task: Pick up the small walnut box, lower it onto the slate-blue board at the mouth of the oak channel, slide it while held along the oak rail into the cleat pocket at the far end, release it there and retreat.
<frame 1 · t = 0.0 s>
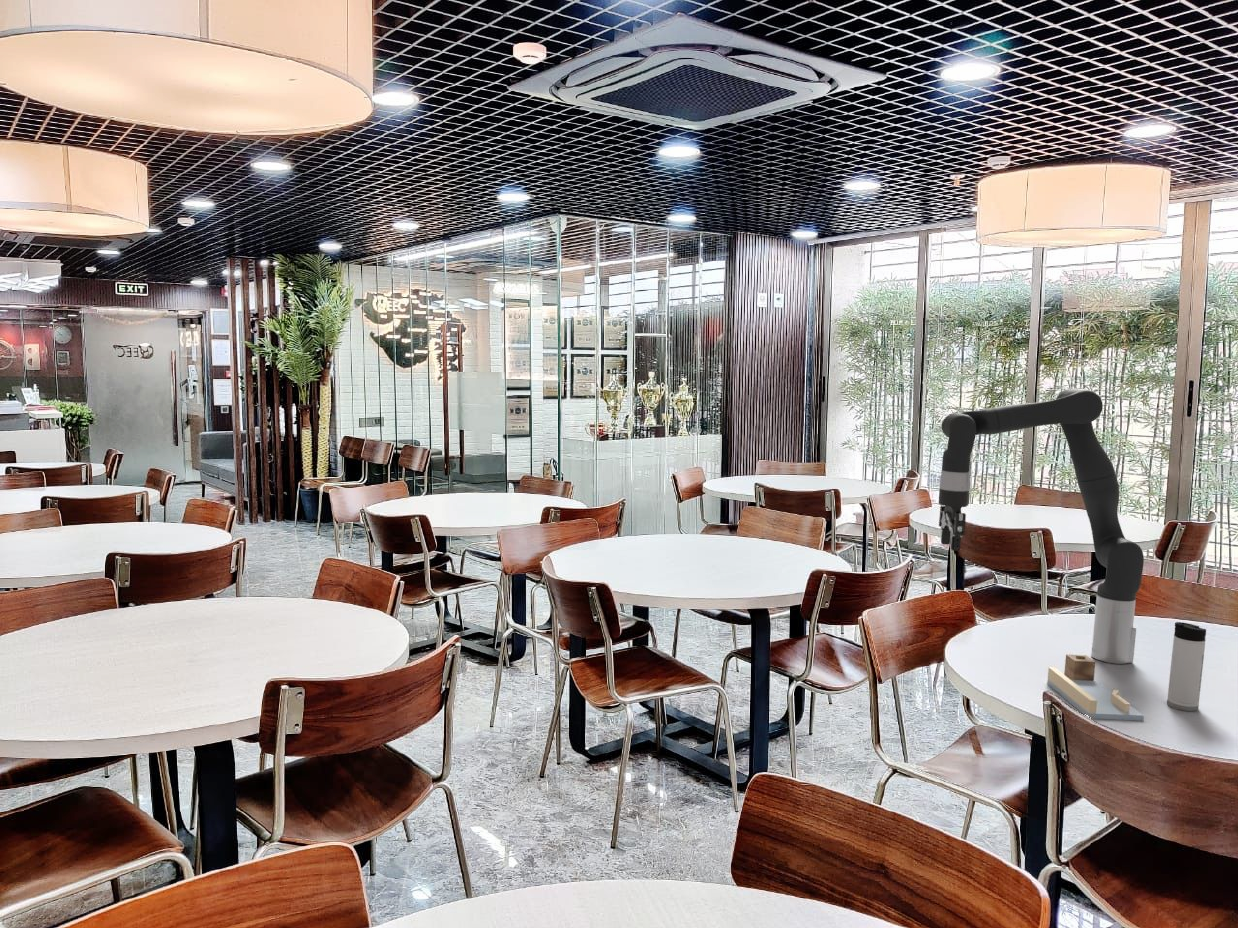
hand: (950, 547, 244), 29 cm above the table, tool pointing down, fingers open, 8 cm apart
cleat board: (1092, 700, 213), on the table
travel mug: (1181, 707, 212), on the table
walnut box: (1078, 681, 227), on the table
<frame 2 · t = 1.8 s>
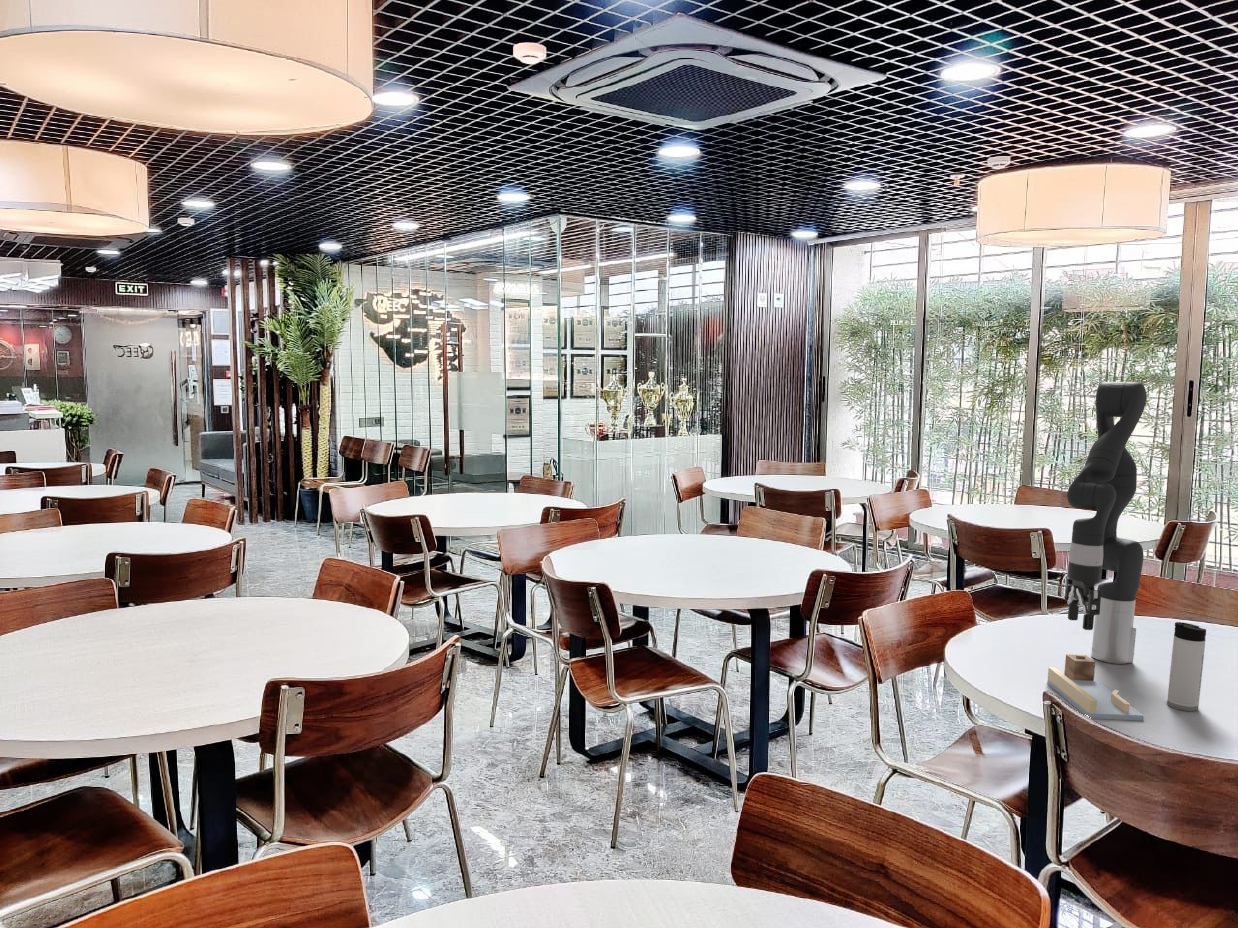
hand: (1079, 624, 226), 14 cm above the table, tool pointing down, fingers open, 8 cm apart
nothing on the table moved.
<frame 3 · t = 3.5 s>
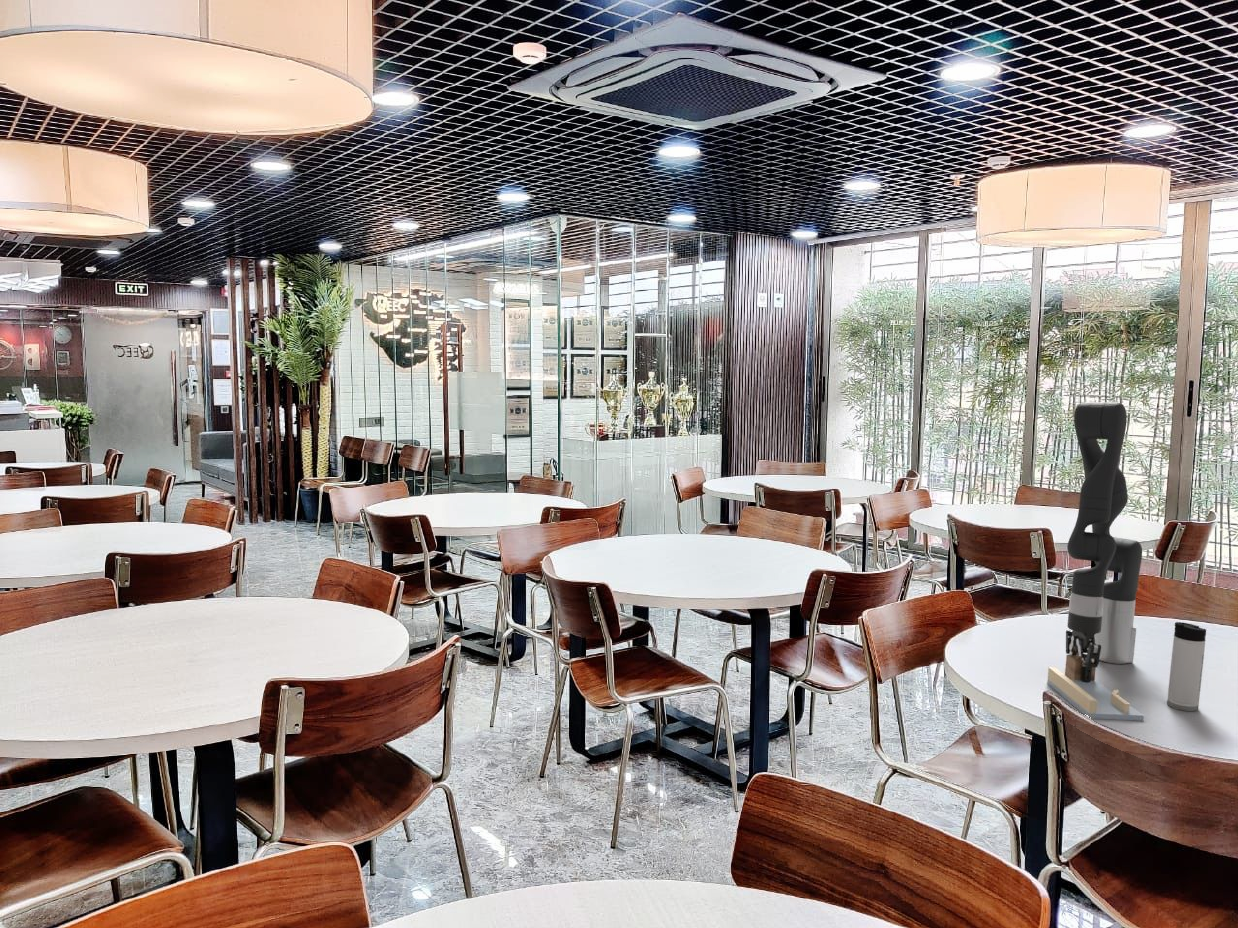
hand: (1079, 677, 226), 1 cm above the table, tool pointing down, fingers open, 5 cm apart
walnut box: (1079, 681, 227), on the table, touching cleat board, gripper
everything else where it was.
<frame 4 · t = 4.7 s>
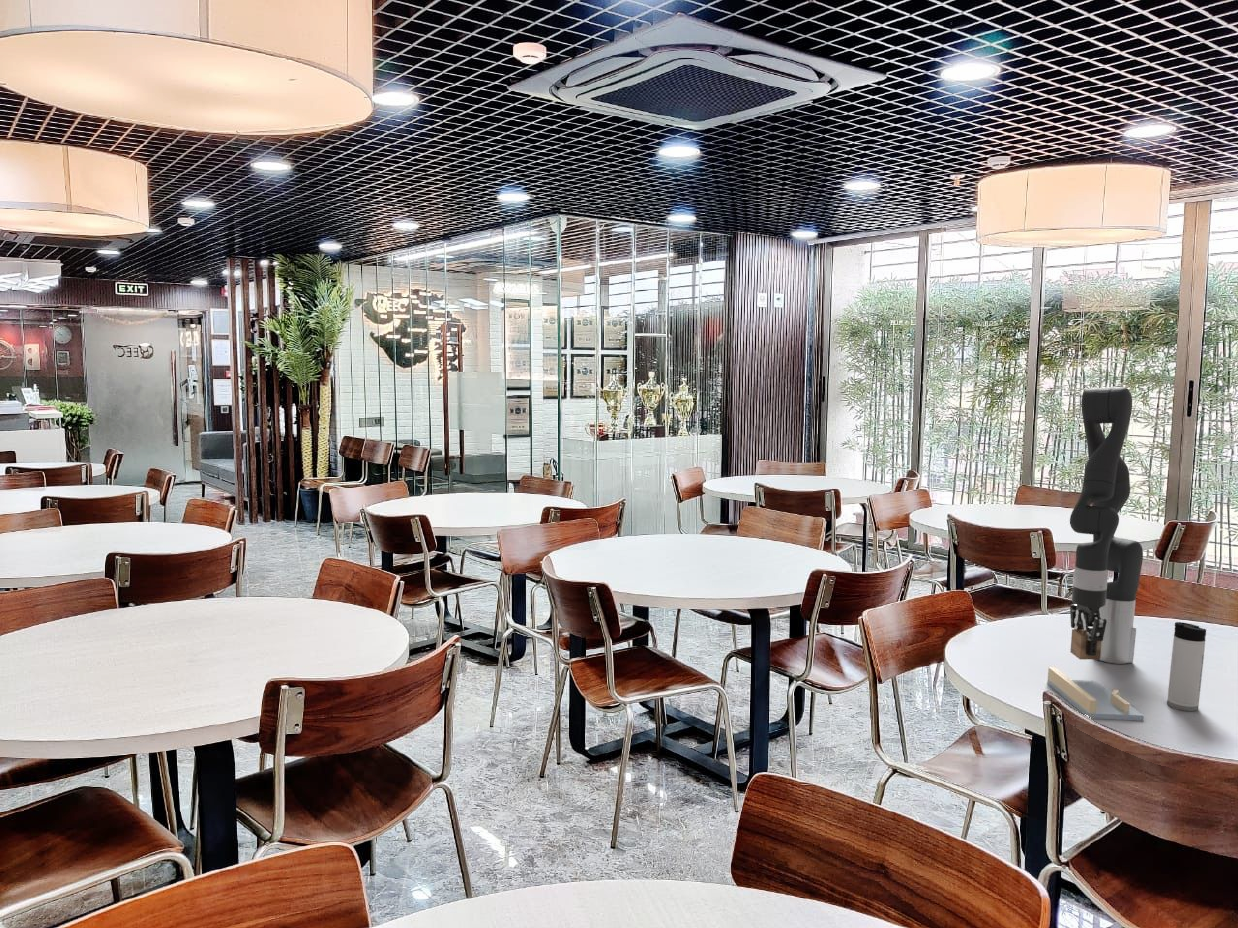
hand: (1085, 650, 226), 8 cm above the table, tool pointing down, fingers closed on walnut box, 5 cm apart
walnut box: (1085, 655, 226), point 7 cm above the table, touching gripper
everything else where it was.
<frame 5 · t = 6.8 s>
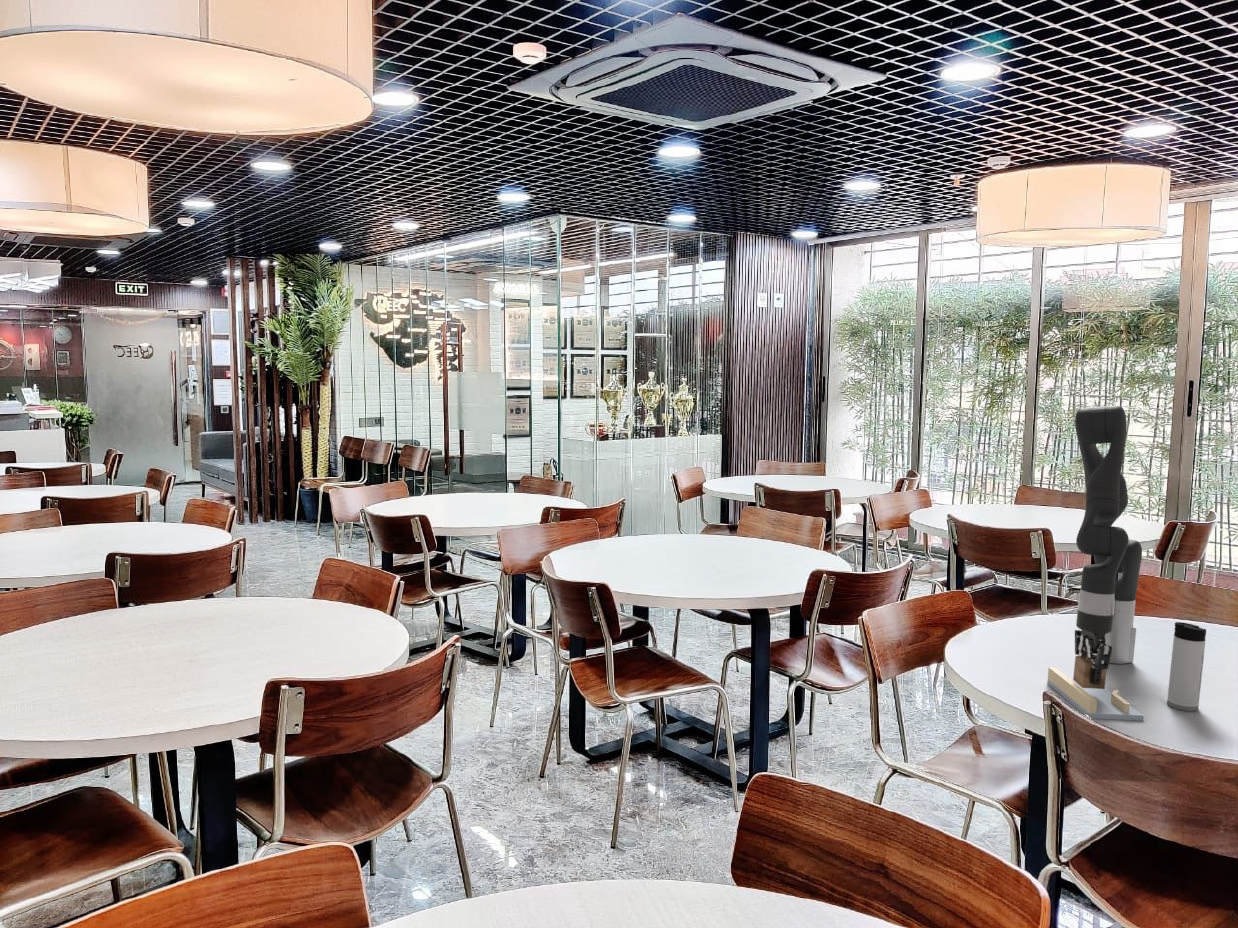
hand: (1089, 679, 213), 5 cm above the table, tool pointing down, fingers closed on walnut box, 5 cm apart
walnut box: (1088, 684, 213), point 4 cm above the table, touching gripper
everything else where it was.
when the fingers open (3 cm above the table, at t = 9.1 s): walnut box stays where it is, resting on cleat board.
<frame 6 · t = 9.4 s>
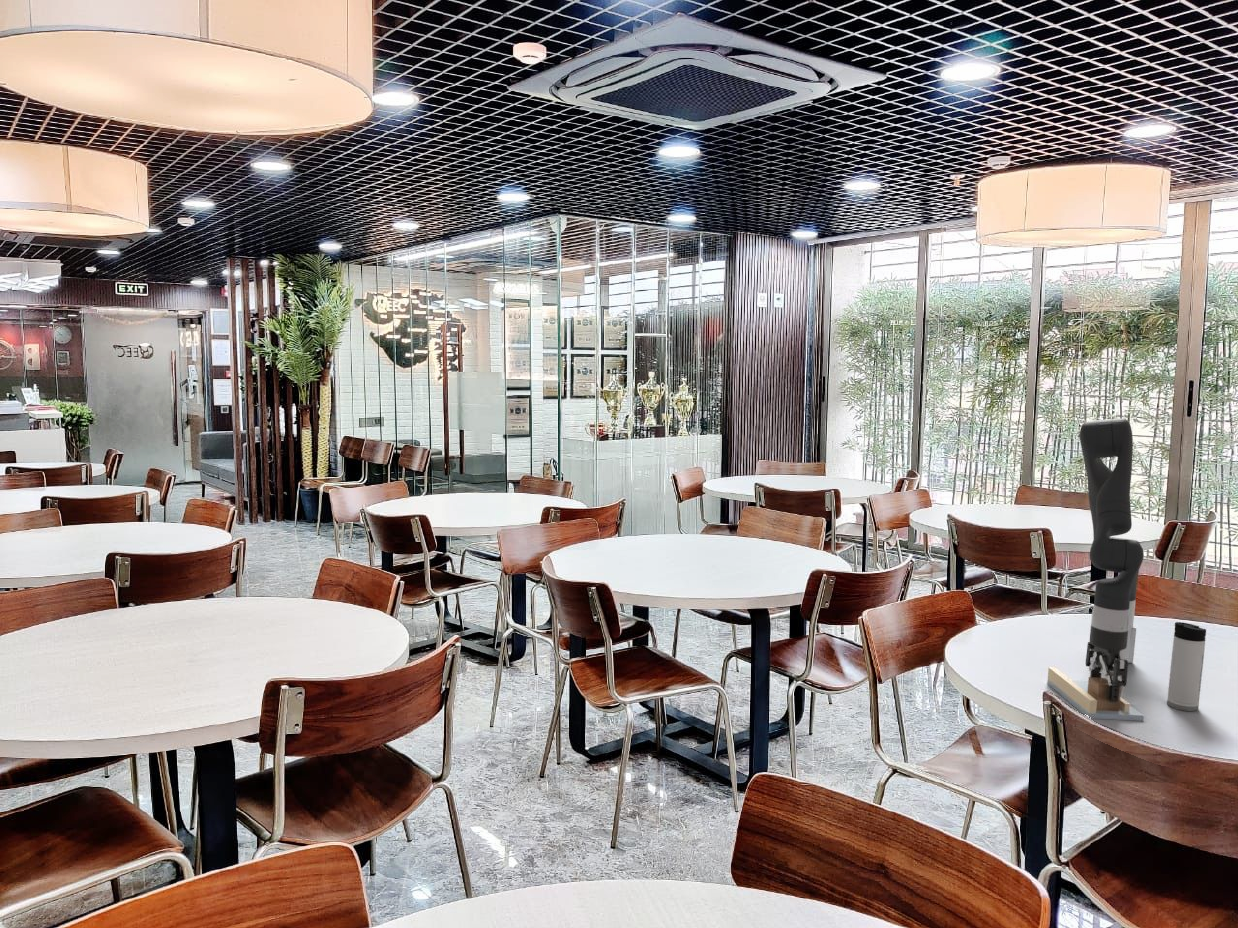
hand: (1103, 694, 207), 4 cm above the table, tool pointing down, fingers open, 8 cm apart
walnut box: (1102, 706, 207), point 1 cm above the table, touching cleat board
everything else where it was.
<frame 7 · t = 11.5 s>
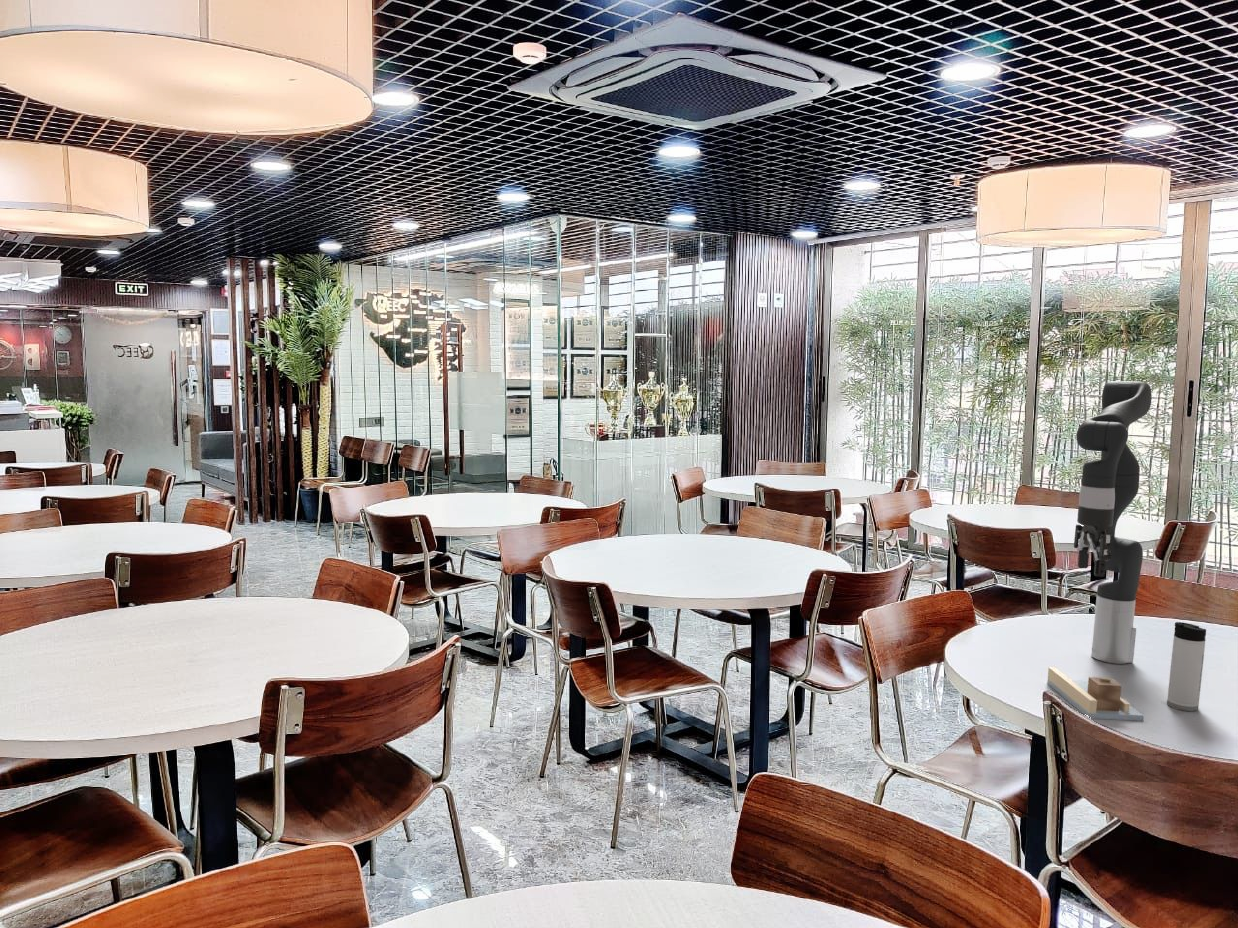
hand: (1090, 571, 217), 30 cm above the table, tool pointing down, fingers open, 8 cm apart
nothing on the table moved.
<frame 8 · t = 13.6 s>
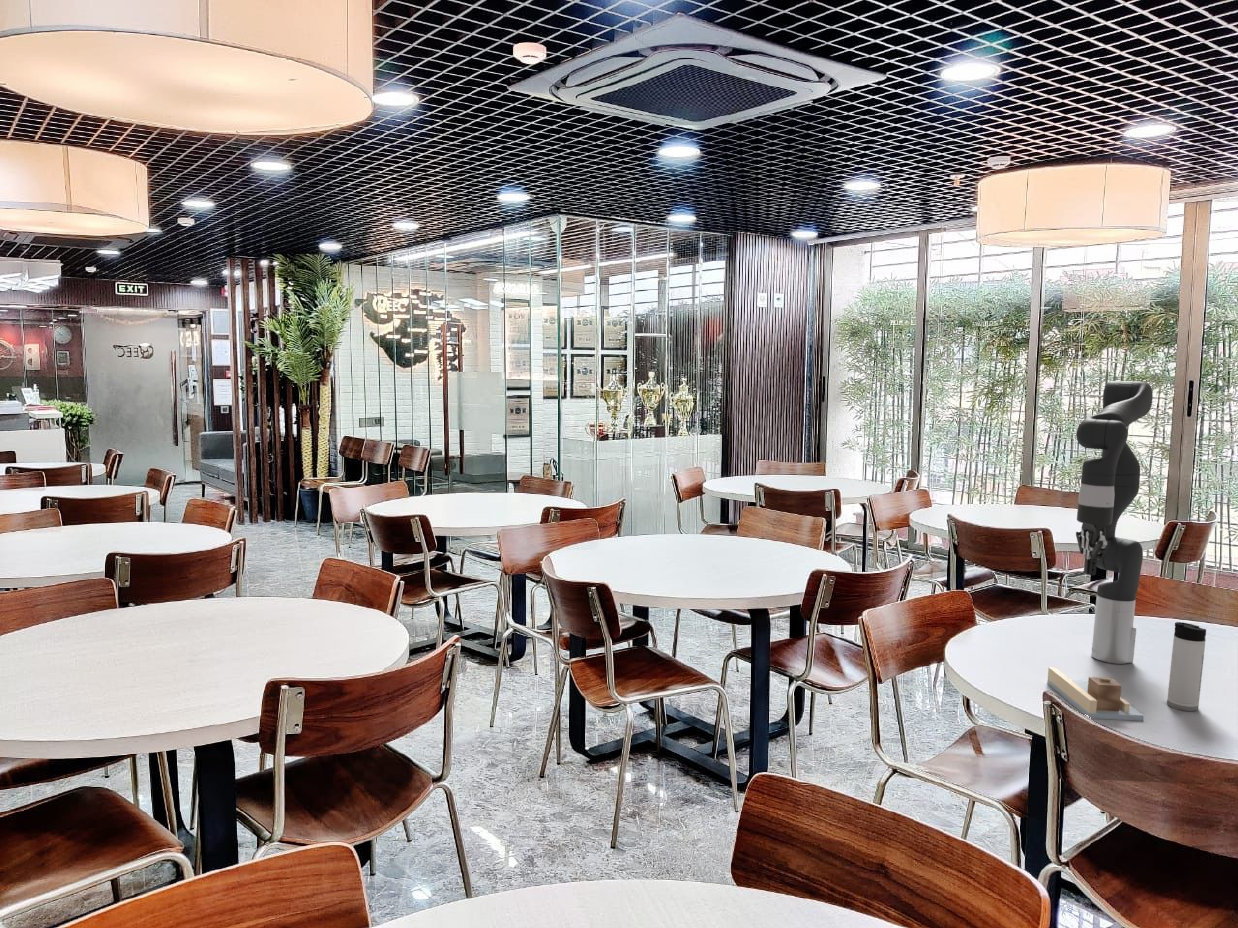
hand: (1089, 574, 217), 29 cm above the table, tool pointing down, fingers closed
nothing on the table moved.
at the end: walnut box 0.1 cm from the target spot on the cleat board, point 1.2 cm above the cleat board's base; walnut box tilted 0°; the gripper is holding nothing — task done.
